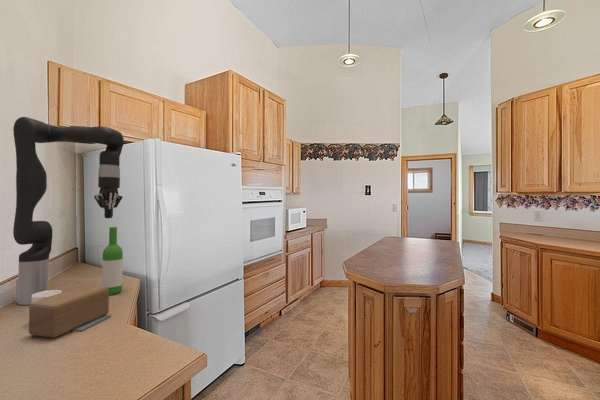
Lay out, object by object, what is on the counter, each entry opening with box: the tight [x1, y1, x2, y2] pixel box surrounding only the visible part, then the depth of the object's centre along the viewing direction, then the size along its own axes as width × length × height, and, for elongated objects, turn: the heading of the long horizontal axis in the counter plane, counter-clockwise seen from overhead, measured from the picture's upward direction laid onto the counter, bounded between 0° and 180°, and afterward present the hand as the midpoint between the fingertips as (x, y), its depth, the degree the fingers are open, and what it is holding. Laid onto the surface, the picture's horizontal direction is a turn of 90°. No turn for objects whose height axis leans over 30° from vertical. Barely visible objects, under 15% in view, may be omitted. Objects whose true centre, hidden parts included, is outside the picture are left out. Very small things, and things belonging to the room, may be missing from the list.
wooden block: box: [28, 285, 110, 338], centre depth 97 cm, size 10×10×20 cm
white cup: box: [31, 289, 63, 303], centre depth 100 cm, size 8×8×10 cm
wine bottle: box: [101, 226, 124, 296], centre depth 131 cm, size 8×8×30 cm
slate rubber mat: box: [69, 314, 112, 333], centre depth 99 cm, size 12×12×1 cm
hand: (108, 218), depth 120 cm, fingers closed
